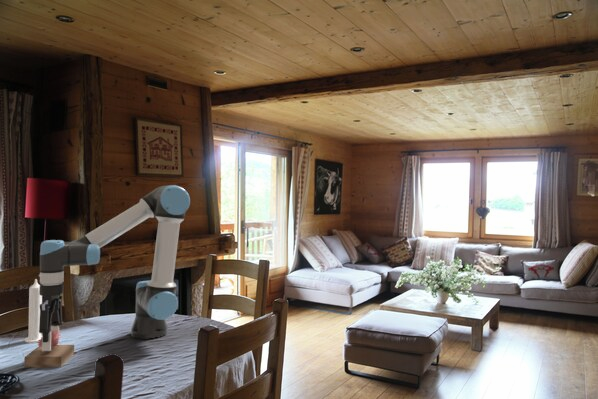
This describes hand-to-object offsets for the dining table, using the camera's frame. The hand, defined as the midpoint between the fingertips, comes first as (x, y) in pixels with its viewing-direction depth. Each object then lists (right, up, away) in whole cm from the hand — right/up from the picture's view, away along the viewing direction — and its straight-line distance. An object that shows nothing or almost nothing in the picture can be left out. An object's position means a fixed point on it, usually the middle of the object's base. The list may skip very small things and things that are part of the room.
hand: (50, 346), depth 161 cm
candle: (-18, -4, +21) cm, 28 cm away
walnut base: (0, -5, 0) cm, 5 cm away
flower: (0, -1, -1) cm, 1 cm away
